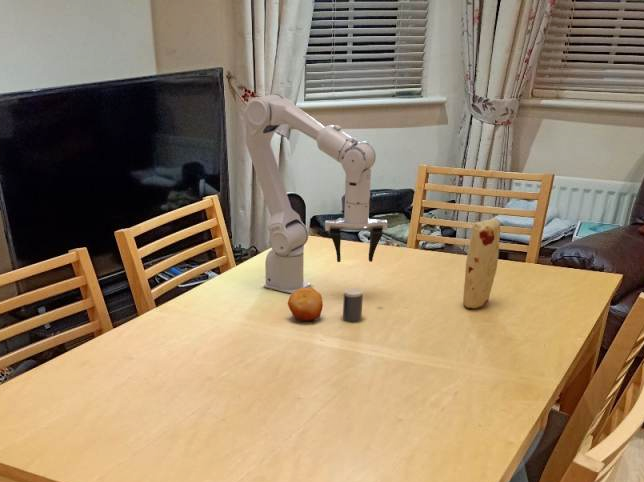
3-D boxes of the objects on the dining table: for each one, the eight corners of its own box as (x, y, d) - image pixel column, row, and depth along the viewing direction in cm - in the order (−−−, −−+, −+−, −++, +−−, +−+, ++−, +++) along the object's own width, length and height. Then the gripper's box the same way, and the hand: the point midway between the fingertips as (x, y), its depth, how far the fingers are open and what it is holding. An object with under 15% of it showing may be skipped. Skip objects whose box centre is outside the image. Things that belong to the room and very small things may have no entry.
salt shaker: (346, 323, 175) (347, 295, 171) (340, 316, 178) (341, 289, 175) (364, 321, 176) (365, 293, 172) (357, 314, 179) (359, 287, 176)
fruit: (324, 304, 181) (323, 281, 174) (322, 331, 178) (321, 309, 170) (290, 303, 182) (288, 280, 174) (288, 330, 178) (285, 308, 171)
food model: (480, 313, 179) (492, 226, 168) (454, 308, 182) (464, 222, 171) (496, 301, 186) (509, 217, 174) (471, 296, 189) (482, 213, 177)
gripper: (386, 197, 178) (382, 255, 186) (324, 197, 178) (323, 256, 186) (389, 204, 173) (385, 264, 180) (326, 204, 173) (325, 264, 180)
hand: (354, 260), depth 183 cm, fingers open, 7 cm apart
